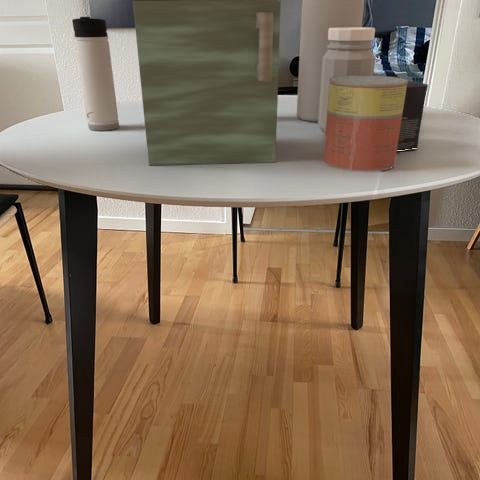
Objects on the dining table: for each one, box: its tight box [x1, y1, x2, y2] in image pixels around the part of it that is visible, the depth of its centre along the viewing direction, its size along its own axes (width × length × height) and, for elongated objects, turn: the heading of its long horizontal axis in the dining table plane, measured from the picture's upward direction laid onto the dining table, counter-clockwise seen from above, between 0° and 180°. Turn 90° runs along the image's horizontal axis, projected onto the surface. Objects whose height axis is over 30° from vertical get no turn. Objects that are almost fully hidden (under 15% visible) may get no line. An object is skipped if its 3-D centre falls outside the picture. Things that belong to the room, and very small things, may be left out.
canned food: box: [322, 75, 409, 173], centre depth 76 cm, size 11×11×12 cm
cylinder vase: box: [296, 0, 366, 123], centre depth 107 cm, size 12×12×25 cm
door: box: [132, 0, 282, 166], centre depth 71 cm, size 6×20×22 cm, turn 94°
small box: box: [397, 80, 429, 150], centre depth 87 cm, size 11×6×10 cm, turn 21°
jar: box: [317, 26, 377, 134], centre depth 96 cm, size 10×10×18 cm
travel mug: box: [71, 16, 120, 132], centre depth 99 cm, size 6×7×20 cm
